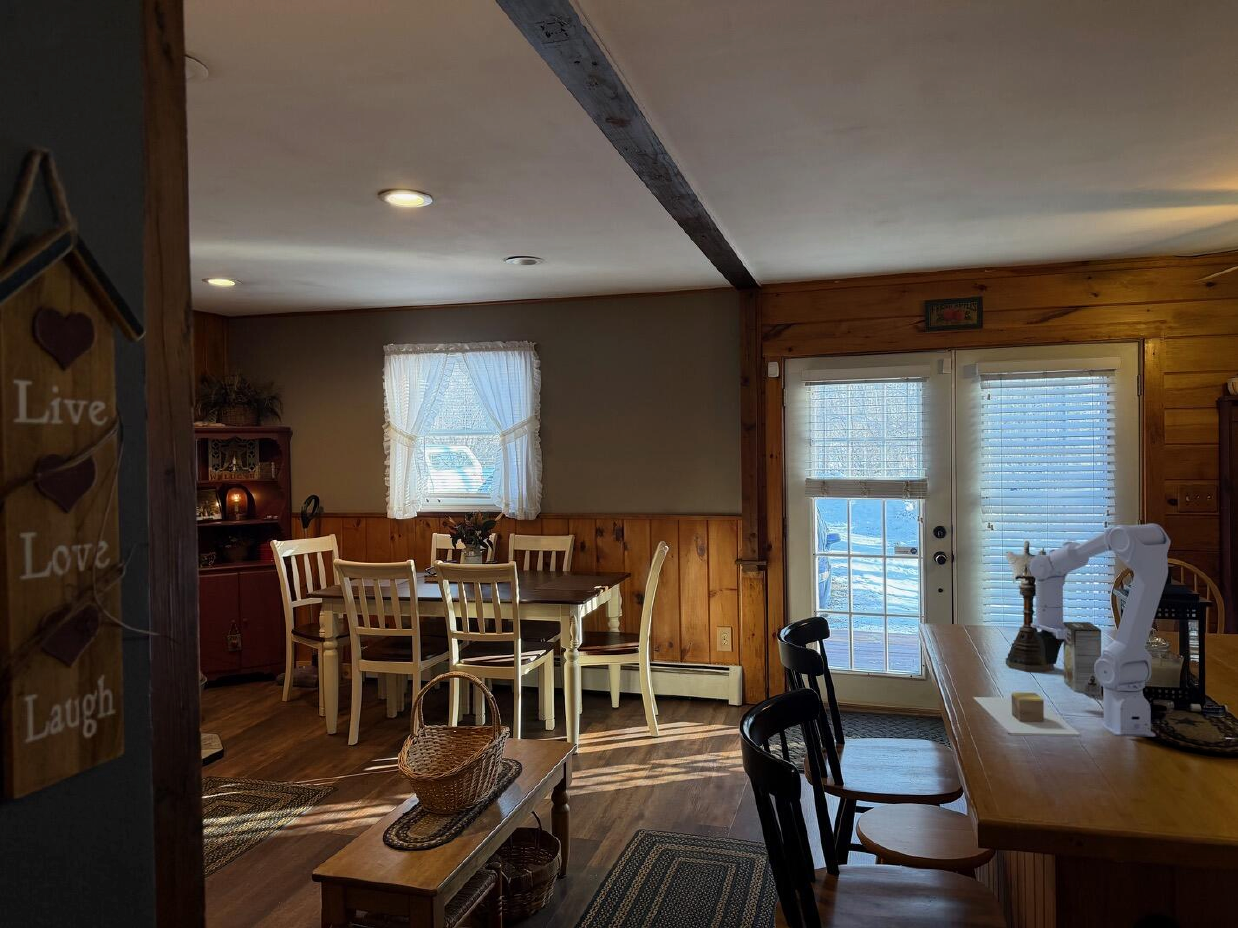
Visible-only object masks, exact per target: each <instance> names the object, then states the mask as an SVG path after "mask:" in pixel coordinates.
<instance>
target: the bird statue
mask: <svg viewBox="0 0 1238 928" xmlns="http://www.w3.org/2000/svg"><path fill="white" fill-rule="evenodd" d="M1047 554H1048V553H1047V551H1045V547H1042V549H1041V550H1040V551H1039V550H1038V553H1037V554H1032V553H1031V552H1030V541H1029V540H1026V541H1024V543H1023V551H1022V554H1016V553H1014V552H1013V551H1006V552H1005V554H1004V555H1005V557H1006V560H1007V562H1008V564H1009V566H1010V569H1011V572H1012V582H1013V584H1014V583H1015V582H1016V581H1018V580H1019V579H1020V584H1018V586H1017V587H1018V588H1019V592H1018V594H1019V595H1021V596H1023V597H1022V600H1023V609H1022V612H1021V613H1023V624H1022V625H1021V626H1020V627H1019V628H1018V633H1017V635H1016V637H1015V639H1013V643H1011V644H1010V645H1011V648H1010V650H1009V652H1008V653H1007V657H1006V658H1005V665H1006V666H1007V667H1008V668H1009V669H1012V670H1016V671H1017V670H1018V671H1020V672H1021V671H1022V672H1027V673H1028V672H1034V673H1035V672H1036V673H1046V672H1050V671H1054V670H1055V664H1046V663H1045V662H1044V659H1043V655H1042V651H1041V647H1040V644H1039V642H1038V640H1037V638H1036V636H1035V634H1034V632H1039V631H1038V628H1033V627H1031V623H1034V613H1035V614H1036V611H1034V598H1035V597H1036V578H1035V577H1034V576H1033V575H1032V574H1031V571H1030V561H1031V559H1032V558H1033V557H1035V555H1047Z"/></svg>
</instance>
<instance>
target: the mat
mask: <svg viewBox="0 0 1238 928" xmlns="http://www.w3.org/2000/svg"><path fill="white" fill-rule="evenodd" d="M972 698H973V699H974V700H975V701H976V702H977V703H978V704H979V705H980V706H981V707H982V708H983V709H984V710H985V711H987V712H988V714H990V715H991V716H992V718H994V719H995V720H996V721H997V722H998V723H999V724H1000V725H1001V726H1002V727H1004V729H1005V730H1006V731H1008V732H1007V734H1008V735H1009V736H1011V737H1012V736H1013V737H1015V736H1016V737H1060V738H1061V737H1066V738H1081V737H1082V736H1081V733H1080V732H1078V731H1077V730H1076V729H1075V728H1074V727H1072V726H1071V725H1069V724H1068V723H1067V722H1066V721H1064V719H1062V718H1061V717H1059V716H1058V715H1057V714H1055V712H1053V711H1051V710H1050V709H1049V708H1048V707H1046V706H1045V705H1044V722H1019V721H1018V720H1017V719H1016V718H1015V717H1014V716H1013V715H1012V697H992V696H990V697H989V696H986V697H985V696H983V697H981V696H972Z"/></svg>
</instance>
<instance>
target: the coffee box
mask: <svg viewBox="0 0 1238 928" xmlns="http://www.w3.org/2000/svg"><path fill="white" fill-rule="evenodd" d="M1063 625H1064V627H1065V630H1066V631H1067V639H1065V640H1064V642H1063V683H1064V684H1065V685H1066V686H1067V687H1069V688H1070V689H1071V690H1072V691H1073V692H1075V693H1082V694H1083V695H1092V696H1093V695H1095V696H1101V695H1102V686H1101V683H1100V682H1099V681H1098V679H1097V677H1096V675H1095V671H1094V665H1095V662H1096V661H1097V659H1099V658H1100V657H1101V655H1102V629H1101V628H1099V627H1097V626H1096V625H1095V624H1093V623H1092V622H1089V621H1063Z"/></svg>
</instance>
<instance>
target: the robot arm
mask: <svg viewBox="0 0 1238 928" xmlns="http://www.w3.org/2000/svg"><path fill="white" fill-rule="evenodd" d="M1171 542H1172V541H1171V539H1170V538H1169V535H1167V533H1166V531H1165V530H1164V528H1163V527H1162V526H1160V525H1159V524H1157V523H1153V522H1152V523H1146V524H1134V525H1133V524H1132V525H1131V524H1130V525H1124V524H1122V525H1121V524H1118V525H1115V526H1114V527H1110V528H1107V529H1105V531H1103V532H1101V533H1099V534H1097V535H1096V536H1094V537H1092V538H1090V539H1088V540H1086V541H1084V542H1083V543H1078V542H1075V541H1074V542H1073V541H1065V542H1063V543H1062V545H1063V546H1062V547H1059V548H1057V549H1055V548H1054V549H1050V550H1048V553H1046V554H1047V555H1037V554H1034V555H1035V557H1033V558H1032V559H1031V561H1030V571H1031V574H1032V575H1033V576H1034V577H1035V578H1036V581H1035V584H1036V596H1035V617H1033V623H1031V627H1033V628H1037V629H1040V631H1038V632H1034V634H1035V636H1036V638H1037V640H1038V642H1039V644H1040V647H1041V651H1042V655H1043V659H1044V662H1045V663H1046V664H1054V665H1056V664H1057V661H1058V657H1059V653H1060V650H1061V647H1062V645H1063V644H1064V640H1065V639H1067V631H1066V630H1065V627H1064V625H1063V622H1064V585H1065V584H1066V578H1067V576H1068V574H1069V573H1071V572H1073V571H1076V570H1078V569H1080V568H1082V567H1085V566H1086V565H1088V563H1089V561H1090V558H1091V557H1095V556H1097V555H1100V554H1103V553H1106V552H1108V551H1112V552H1113V553H1114V554H1115V556H1116V557H1118V558H1119V560H1121V561H1122V562H1123V564H1124V565H1126V567H1128V569H1129V570H1131V571H1132V572H1133V574H1134V575H1133V579H1132V582H1131V585H1130V589H1129V592H1128V596H1127V599H1126V602H1125V606H1124V609H1123V612H1122V616H1121V618H1120V621H1119V625H1118V629H1117V632H1116V635H1115V639H1114V640H1113V641H1112V642H1111V643H1110V644H1108V645H1107V646H1106V647H1104V649H1103V650H1102V652H1101V657H1100V658H1099V659H1097V661H1096V662H1095V665H1094V671H1095V675H1096V677H1097V679H1098V681H1099V682H1100V683H1101V687H1103V688H1102V689H1103V690H1102V691H1103V693H1102V694H1103V698H1102V699H1103V703H1102V705H1103V719H1096V720H1095V721H1096V722H1097V723H1099V724H1100V725H1102V726H1103V727H1105V728H1106V730H1109V731H1110V732H1112V733H1113V734H1114V735H1115V736H1116V737H1144V736H1146V737H1156V736H1157V735H1156V733H1154V732H1153V731H1151V730H1152V729H1151V727H1152V726H1151V724H1152V722H1151V721H1152V720H1151V713H1152V712H1151V711H1152V710H1151V705H1150V703H1149V701H1148V700H1147V699H1146V698H1145V696H1144V693H1143V690H1144V688H1145V687H1146V683H1147V682H1148V681H1149V680H1150V679H1151V676H1152V667H1151V666H1152V665H1151V662H1152V659H1153V656H1152V654H1151V653H1150V652H1149V651H1148V650H1147V649H1146V645H1147V641H1148V638H1149V636H1150V632H1151V630H1152V626H1153V623H1154V620H1155V617H1156V613H1157V610H1158V607H1159V604H1160V600H1161V599H1162V598H1161V597H1162V594H1163V591H1164V588H1165V585H1166V581H1167V579H1168V574H1169V566H1168V565H1169V564H1168V551H1169V549H1170V545H1171Z"/></svg>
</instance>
